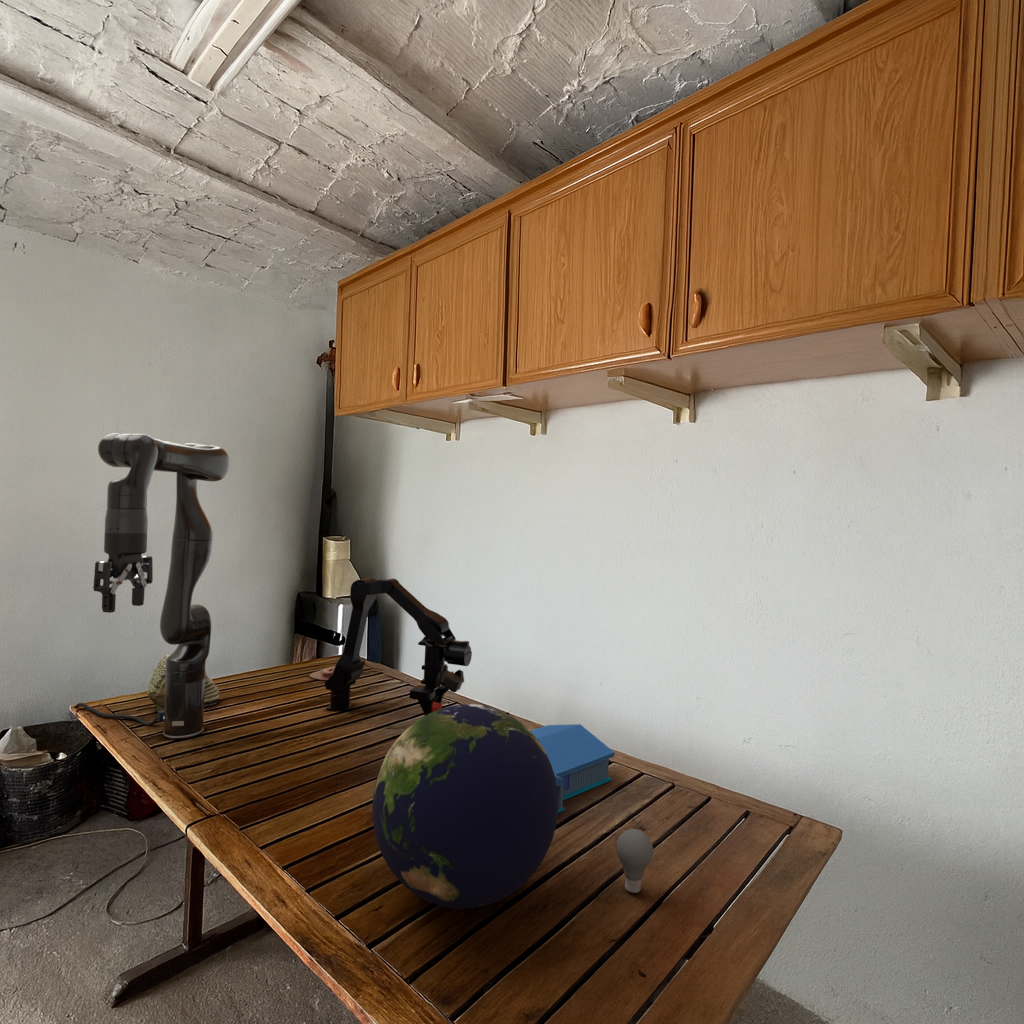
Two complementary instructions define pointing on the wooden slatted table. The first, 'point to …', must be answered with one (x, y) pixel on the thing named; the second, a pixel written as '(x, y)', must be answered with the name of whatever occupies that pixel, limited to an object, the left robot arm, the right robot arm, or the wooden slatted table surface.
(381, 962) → the wooden slatted table surface
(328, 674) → the anatomical model
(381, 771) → the globe
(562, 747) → the model building
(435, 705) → the canister
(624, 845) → the light bulb
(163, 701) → the fossil
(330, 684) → the right robot arm
